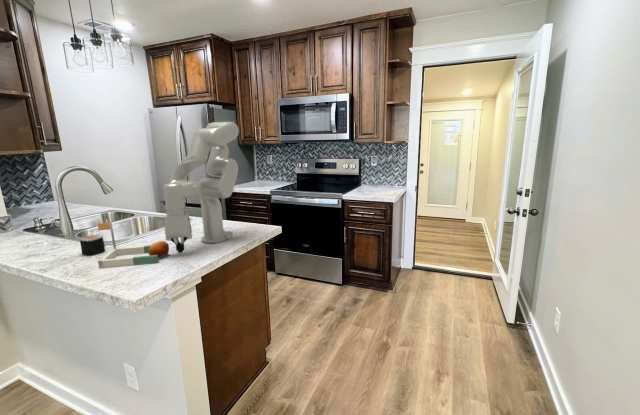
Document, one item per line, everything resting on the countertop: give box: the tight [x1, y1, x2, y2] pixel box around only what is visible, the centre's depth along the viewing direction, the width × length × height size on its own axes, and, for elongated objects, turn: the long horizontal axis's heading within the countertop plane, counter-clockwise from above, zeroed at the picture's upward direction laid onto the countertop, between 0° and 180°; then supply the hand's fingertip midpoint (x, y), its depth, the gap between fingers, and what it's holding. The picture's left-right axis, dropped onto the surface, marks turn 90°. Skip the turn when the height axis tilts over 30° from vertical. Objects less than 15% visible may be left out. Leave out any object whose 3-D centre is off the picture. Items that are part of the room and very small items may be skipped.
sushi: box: [79, 234, 106, 257], centre depth 137 cm, size 8×8×8 cm
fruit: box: [148, 240, 170, 259], centre depth 132 cm, size 8×8×8 cm
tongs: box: [97, 222, 159, 269], centre depth 128 cm, size 26×15×15 cm, turn 103°
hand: (180, 251), depth 134 cm, fingers closed
